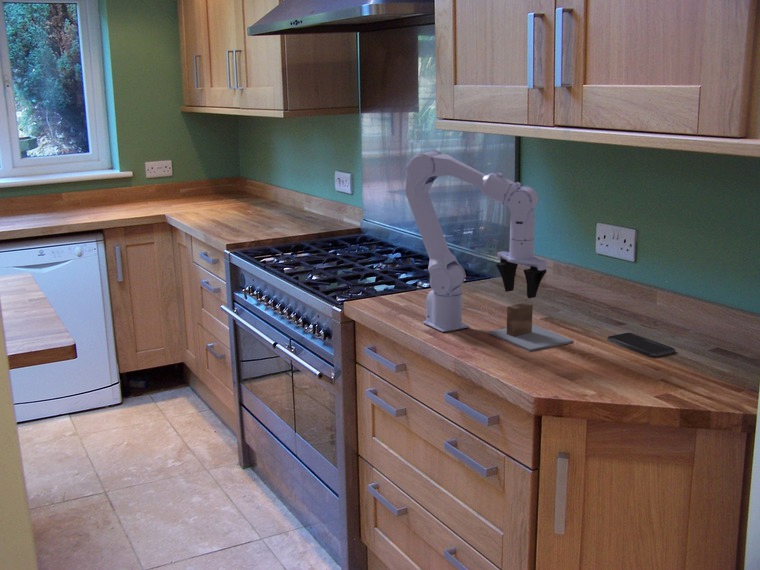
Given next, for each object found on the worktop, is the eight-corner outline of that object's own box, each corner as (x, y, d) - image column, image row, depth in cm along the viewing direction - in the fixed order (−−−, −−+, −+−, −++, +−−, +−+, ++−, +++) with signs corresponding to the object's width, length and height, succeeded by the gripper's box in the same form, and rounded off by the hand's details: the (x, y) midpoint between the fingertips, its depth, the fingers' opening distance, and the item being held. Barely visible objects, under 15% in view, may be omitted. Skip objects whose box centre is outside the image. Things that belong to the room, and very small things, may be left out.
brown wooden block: (506, 334, 200) (507, 306, 198) (524, 329, 203) (525, 302, 201) (513, 336, 198) (514, 308, 196) (531, 332, 201) (532, 304, 199)
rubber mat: (488, 333, 202) (488, 331, 202) (530, 325, 208) (530, 323, 208) (529, 351, 189) (529, 349, 189) (573, 342, 195) (573, 340, 195)
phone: (652, 355, 183) (605, 336, 196) (651, 359, 183) (605, 341, 196) (678, 349, 187) (630, 331, 200) (677, 354, 187) (630, 336, 200)
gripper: (488, 236, 198) (487, 290, 202) (531, 245, 187) (529, 303, 190) (509, 232, 202) (508, 286, 205) (553, 241, 191) (551, 298, 194)
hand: (520, 294), depth 198 cm, fingers open, 7 cm apart
